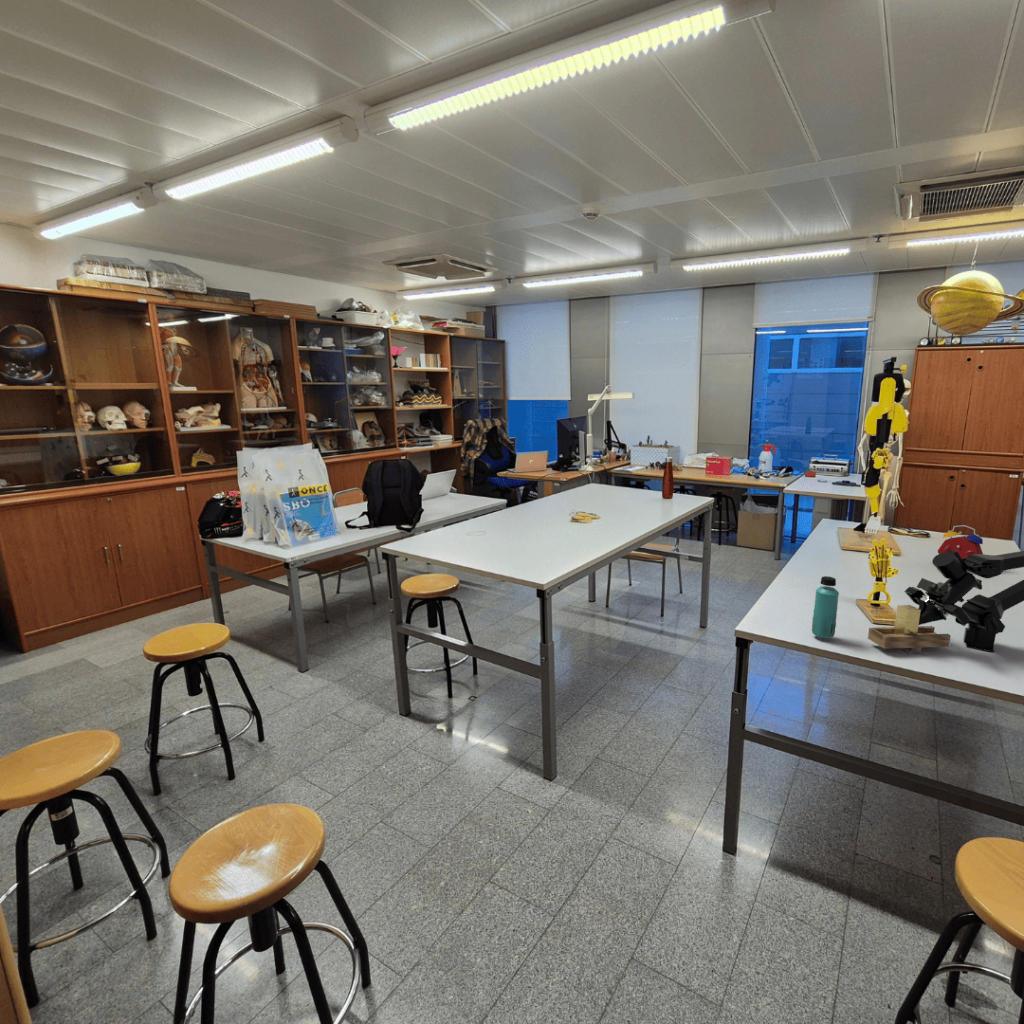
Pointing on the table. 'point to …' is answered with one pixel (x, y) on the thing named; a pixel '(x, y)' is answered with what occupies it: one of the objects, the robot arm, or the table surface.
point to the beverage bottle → (825, 609)
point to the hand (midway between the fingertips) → (913, 624)
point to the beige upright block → (906, 620)
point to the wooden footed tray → (908, 639)
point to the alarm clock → (961, 543)
